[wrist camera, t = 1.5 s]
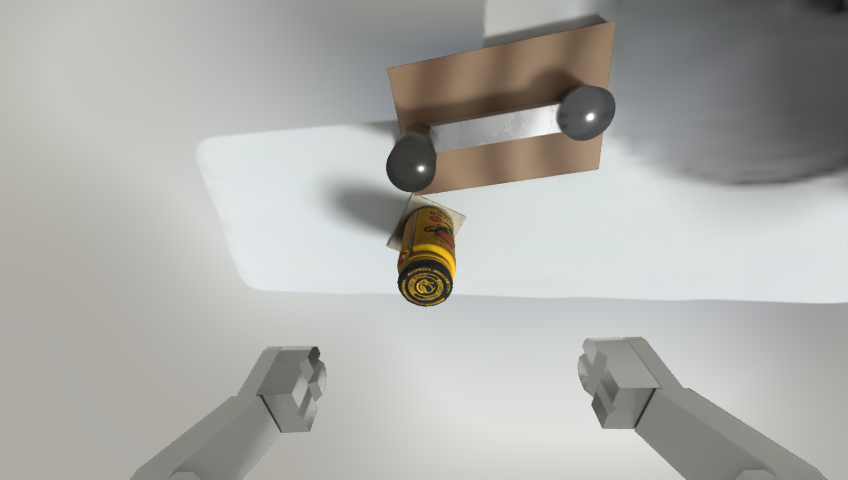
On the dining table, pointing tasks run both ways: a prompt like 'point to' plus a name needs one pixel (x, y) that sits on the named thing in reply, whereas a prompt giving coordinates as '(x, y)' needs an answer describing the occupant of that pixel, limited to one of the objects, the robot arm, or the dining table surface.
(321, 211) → the dining table surface
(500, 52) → the board
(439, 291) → the condiment
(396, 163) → the lever
